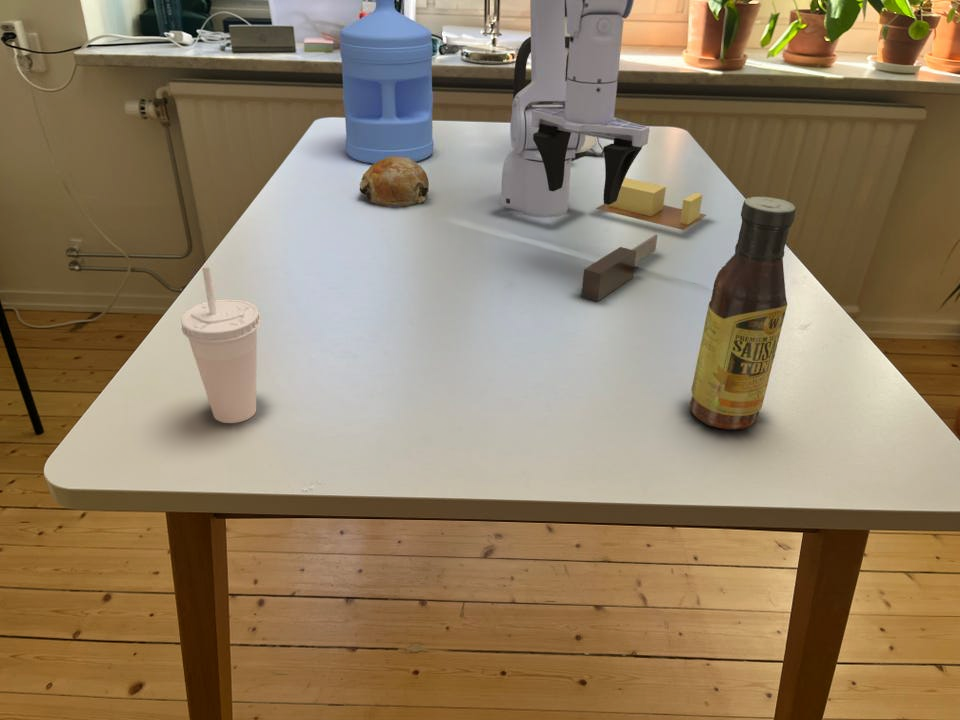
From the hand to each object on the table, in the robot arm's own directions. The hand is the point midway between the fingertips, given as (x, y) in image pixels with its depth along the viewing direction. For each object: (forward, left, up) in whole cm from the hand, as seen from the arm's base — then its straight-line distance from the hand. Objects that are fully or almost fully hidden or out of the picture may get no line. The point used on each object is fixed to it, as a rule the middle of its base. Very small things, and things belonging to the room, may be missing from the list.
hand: (582, 195), depth 99 cm
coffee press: (-29, +43, -10) cm, 53 cm away
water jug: (-53, +24, -10) cm, 59 cm away
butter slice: (+5, +23, -8) cm, 25 cm away
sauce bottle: (+28, -21, -10) cm, 36 cm away
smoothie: (-7, -48, -10) cm, 49 cm away
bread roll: (-36, +6, -10) cm, 38 cm away
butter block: (-3, +23, -8) cm, 25 cm away
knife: (+6, +1, -9) cm, 11 cm away
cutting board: (-1, +23, -9) cm, 25 cm away
